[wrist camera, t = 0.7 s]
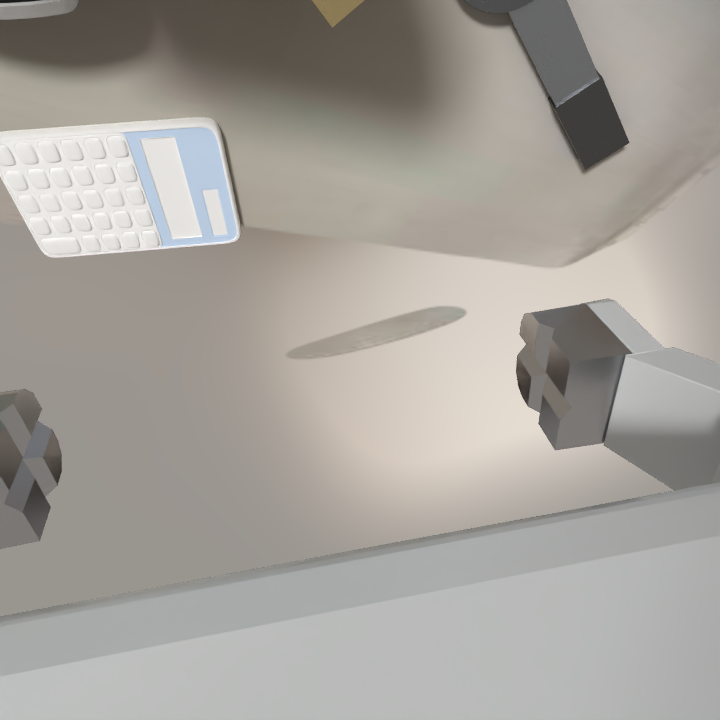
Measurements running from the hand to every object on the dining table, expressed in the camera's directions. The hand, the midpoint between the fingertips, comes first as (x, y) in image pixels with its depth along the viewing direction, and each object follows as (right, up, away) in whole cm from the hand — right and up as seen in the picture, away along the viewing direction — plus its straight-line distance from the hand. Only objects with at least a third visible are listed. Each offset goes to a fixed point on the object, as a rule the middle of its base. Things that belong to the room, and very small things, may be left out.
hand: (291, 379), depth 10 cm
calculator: (-21, +17, +47) cm, 54 cm away
